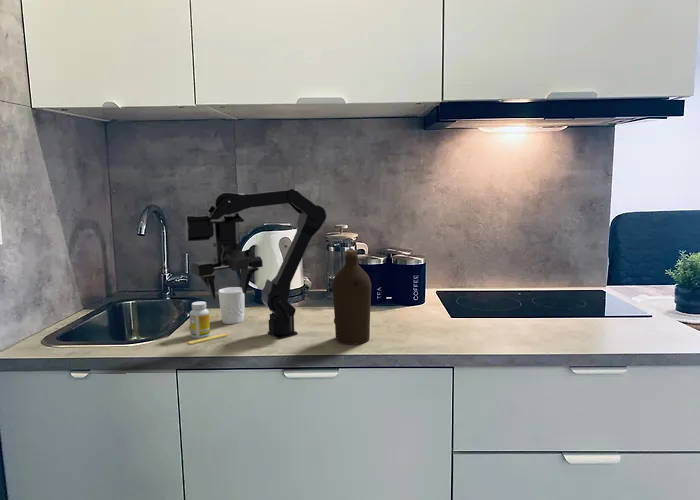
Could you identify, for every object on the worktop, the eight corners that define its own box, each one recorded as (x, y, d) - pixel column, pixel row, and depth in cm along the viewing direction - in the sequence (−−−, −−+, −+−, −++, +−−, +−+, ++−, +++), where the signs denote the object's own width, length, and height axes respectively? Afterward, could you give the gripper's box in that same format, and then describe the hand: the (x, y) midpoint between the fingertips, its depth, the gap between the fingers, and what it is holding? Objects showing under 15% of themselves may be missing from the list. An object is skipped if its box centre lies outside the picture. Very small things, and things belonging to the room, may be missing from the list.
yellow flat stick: (224, 334, 153) (224, 333, 153) (227, 335, 152) (227, 334, 152) (187, 343, 146) (187, 342, 146) (190, 344, 145) (190, 343, 145)
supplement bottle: (188, 338, 150) (186, 305, 149) (194, 332, 155) (192, 300, 154) (207, 338, 150) (205, 305, 149) (212, 332, 155) (210, 300, 154)
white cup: (235, 316, 172) (233, 285, 170) (251, 320, 167) (249, 289, 166) (215, 321, 166) (213, 290, 164) (230, 326, 161) (229, 294, 160)
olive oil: (379, 339, 147) (379, 250, 143) (351, 348, 140) (350, 255, 136) (353, 330, 155) (352, 246, 151) (325, 339, 148) (323, 250, 144)
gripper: (207, 246, 130) (210, 308, 133) (272, 238, 142) (274, 295, 144) (188, 241, 139) (191, 299, 141) (251, 235, 150) (253, 288, 153)
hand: (229, 296), depth 145 cm, fingers open, 9 cm apart
